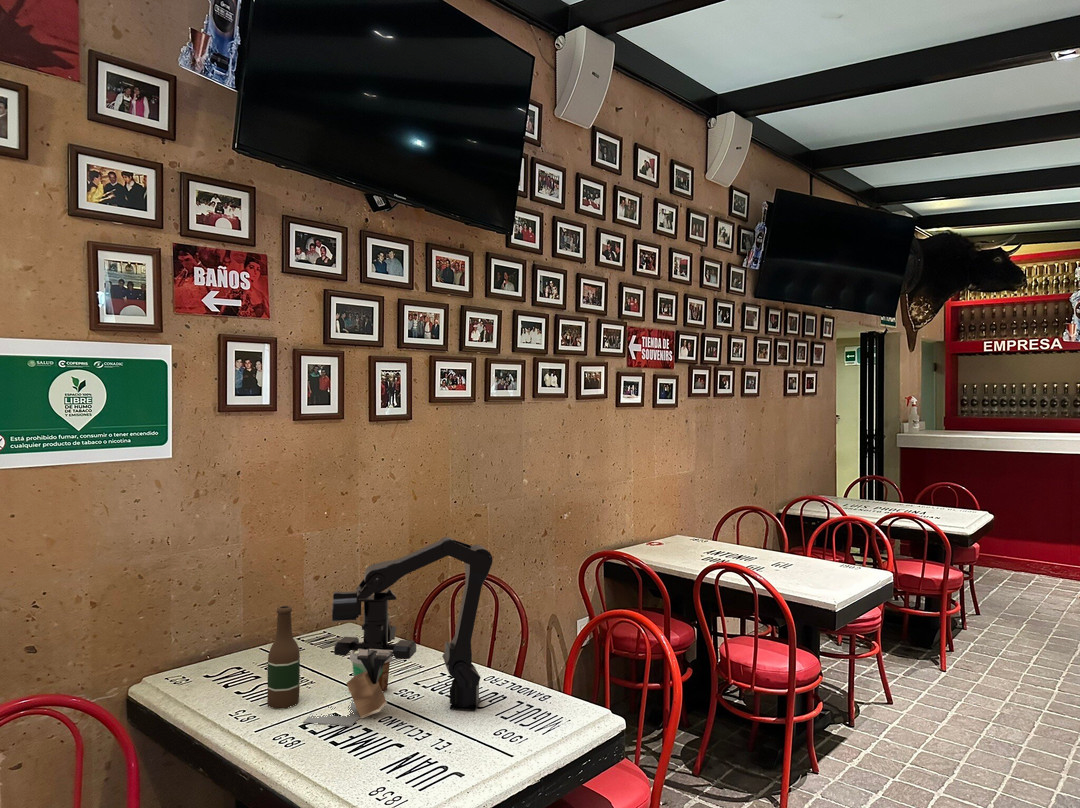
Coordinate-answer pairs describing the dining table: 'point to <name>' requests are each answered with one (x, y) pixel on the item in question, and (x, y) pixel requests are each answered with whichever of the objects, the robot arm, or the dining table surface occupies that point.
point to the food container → (360, 668)
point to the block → (366, 694)
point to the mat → (336, 718)
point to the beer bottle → (283, 664)
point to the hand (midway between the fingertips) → (375, 683)
